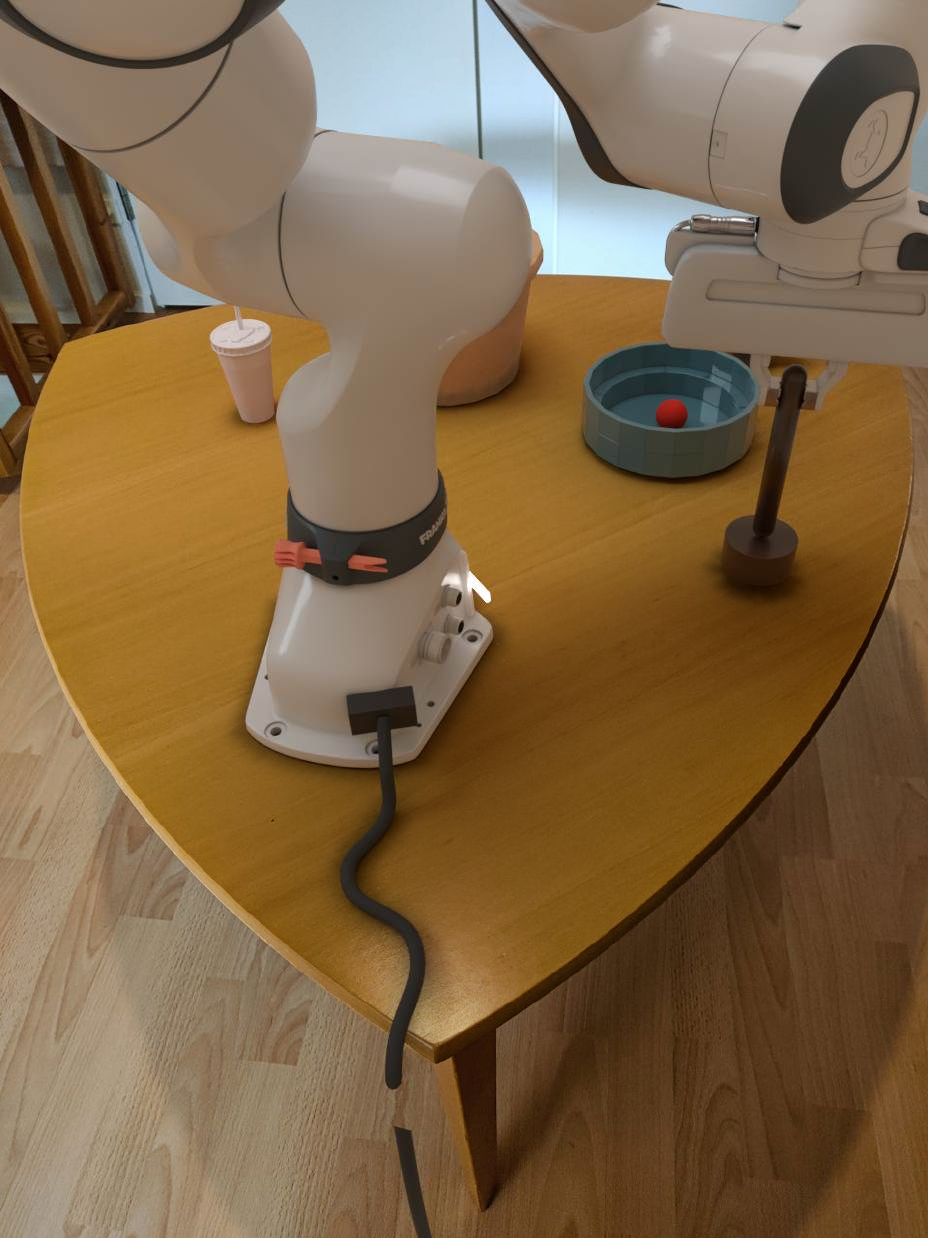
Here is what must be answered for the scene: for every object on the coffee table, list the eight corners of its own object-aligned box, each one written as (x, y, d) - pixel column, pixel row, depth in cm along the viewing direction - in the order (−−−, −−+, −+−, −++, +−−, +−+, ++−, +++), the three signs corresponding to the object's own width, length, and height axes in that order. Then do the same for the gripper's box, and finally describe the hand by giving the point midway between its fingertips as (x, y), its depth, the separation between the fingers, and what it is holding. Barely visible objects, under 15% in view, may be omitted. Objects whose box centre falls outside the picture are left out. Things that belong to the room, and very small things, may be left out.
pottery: (580, 376, 112) (585, 251, 102) (415, 443, 104) (404, 314, 94) (471, 307, 126) (466, 191, 116) (317, 362, 117) (298, 241, 107)
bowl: (746, 493, 95) (756, 440, 91) (568, 473, 99) (570, 421, 95) (755, 399, 107) (764, 348, 103) (596, 384, 111) (598, 335, 107)
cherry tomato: (662, 404, 99) (648, 429, 101) (691, 417, 99) (677, 442, 101) (666, 388, 101) (652, 412, 103) (694, 401, 101) (680, 425, 103)
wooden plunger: (791, 590, 83) (840, 389, 70) (718, 581, 85) (753, 382, 72) (792, 546, 88) (839, 349, 75) (722, 537, 89) (756, 342, 76)
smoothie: (292, 398, 111) (270, 278, 102) (279, 430, 107) (254, 307, 97) (236, 398, 112) (209, 278, 102) (221, 429, 107) (191, 307, 98)
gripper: (664, 230, 66) (646, 413, 75) (997, 250, 62) (934, 441, 71) (673, 195, 70) (655, 371, 80) (985, 211, 66) (927, 396, 76)
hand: (789, 404), depth 75 cm, fingers closed on wooden plunger
